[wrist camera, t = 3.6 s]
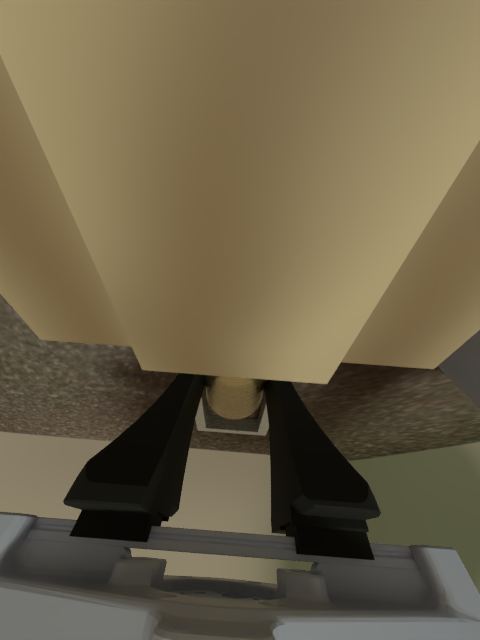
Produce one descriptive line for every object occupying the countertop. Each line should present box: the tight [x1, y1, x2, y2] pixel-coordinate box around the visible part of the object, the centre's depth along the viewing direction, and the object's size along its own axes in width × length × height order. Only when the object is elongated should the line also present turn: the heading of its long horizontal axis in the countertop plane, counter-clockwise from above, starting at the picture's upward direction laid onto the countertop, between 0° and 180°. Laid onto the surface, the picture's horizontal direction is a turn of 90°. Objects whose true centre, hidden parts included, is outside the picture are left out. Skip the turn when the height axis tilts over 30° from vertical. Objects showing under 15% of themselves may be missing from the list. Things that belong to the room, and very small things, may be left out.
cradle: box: [195, 386, 269, 436], centre depth 18 cm, size 8×11×1 cm
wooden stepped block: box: [0, 0, 480, 384], centre depth 6 cm, size 12×6×7 cm, turn 87°
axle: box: [204, 375, 266, 420], centre depth 10 cm, size 10×4×4 cm, turn 177°
